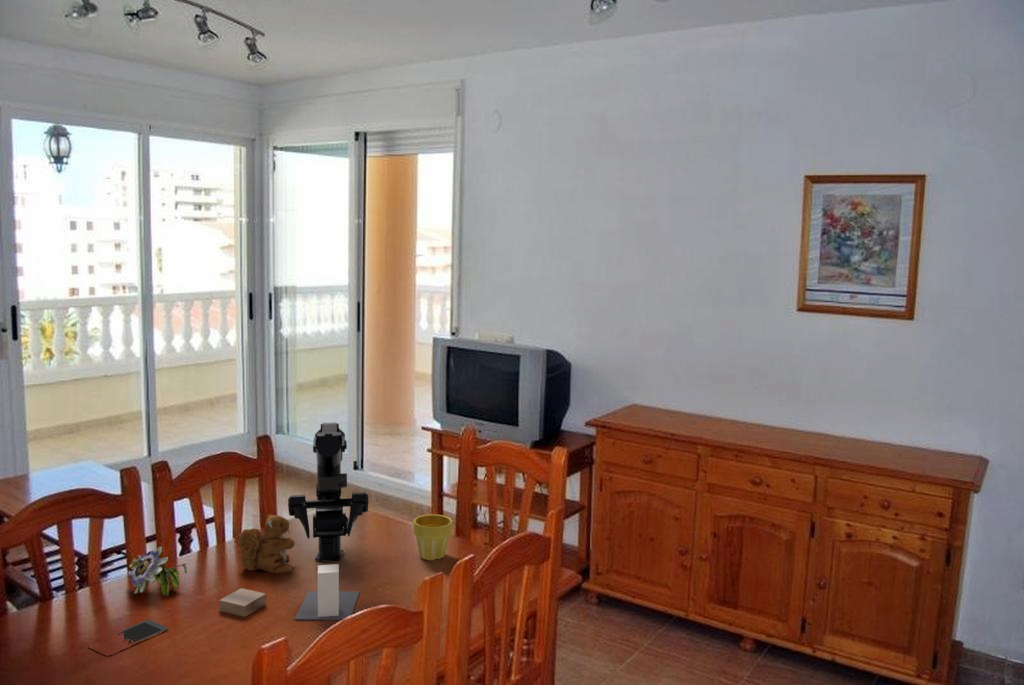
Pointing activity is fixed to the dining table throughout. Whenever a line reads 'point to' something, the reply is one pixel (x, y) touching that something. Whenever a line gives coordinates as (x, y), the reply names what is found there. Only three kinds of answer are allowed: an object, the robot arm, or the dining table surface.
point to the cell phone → (143, 630)
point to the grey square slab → (242, 602)
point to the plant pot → (432, 535)
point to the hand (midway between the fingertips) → (328, 536)
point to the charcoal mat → (311, 606)
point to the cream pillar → (328, 590)
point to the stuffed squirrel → (266, 546)
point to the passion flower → (153, 572)
